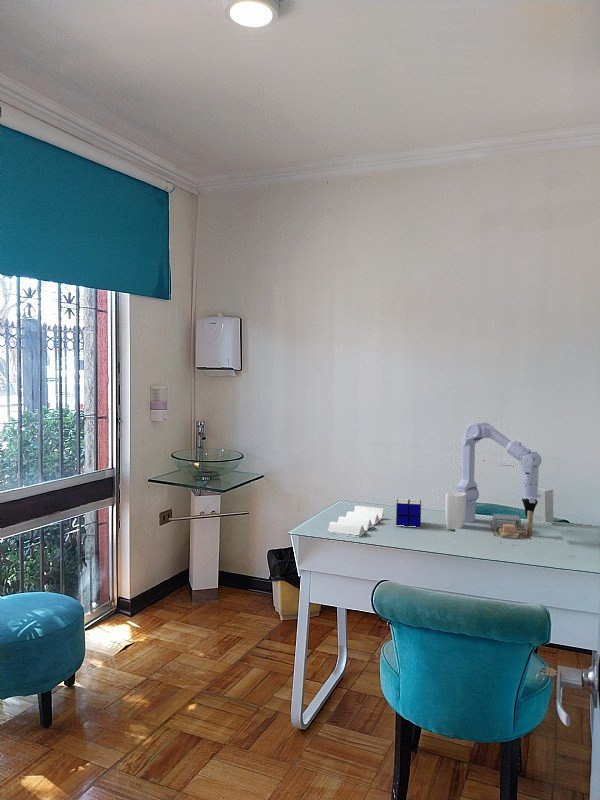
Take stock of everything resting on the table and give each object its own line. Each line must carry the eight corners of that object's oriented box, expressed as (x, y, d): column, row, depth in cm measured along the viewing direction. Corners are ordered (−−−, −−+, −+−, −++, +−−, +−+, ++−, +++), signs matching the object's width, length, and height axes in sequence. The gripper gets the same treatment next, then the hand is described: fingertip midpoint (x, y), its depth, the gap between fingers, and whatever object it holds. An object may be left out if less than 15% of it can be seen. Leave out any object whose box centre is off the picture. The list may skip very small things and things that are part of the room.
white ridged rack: (326, 535, 247) (326, 522, 247) (355, 516, 279) (355, 505, 279) (358, 539, 242) (358, 526, 242) (383, 520, 274) (383, 508, 274)
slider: (500, 536, 240) (501, 513, 240) (498, 531, 247) (499, 508, 247) (534, 539, 237) (535, 515, 237) (531, 534, 245) (532, 510, 244)
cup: (443, 530, 256) (444, 494, 255) (448, 526, 262) (449, 491, 261) (461, 532, 252) (462, 496, 252) (465, 528, 259) (466, 493, 258)
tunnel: (494, 531, 249) (494, 518, 249) (492, 526, 257) (492, 513, 257) (520, 533, 247) (520, 520, 247) (517, 528, 255) (518, 515, 255)
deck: (494, 539, 242) (494, 535, 242) (489, 527, 262) (490, 523, 262) (530, 542, 240) (531, 538, 240) (523, 529, 259) (523, 525, 259)
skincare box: (553, 523, 270) (554, 489, 269) (544, 525, 267) (546, 490, 266) (536, 519, 277) (537, 486, 276) (528, 521, 274) (529, 487, 273)
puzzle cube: (396, 526, 260) (396, 503, 260) (396, 521, 270) (397, 498, 269) (420, 528, 258) (421, 504, 258) (420, 522, 268) (420, 499, 268)
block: (503, 536, 242) (504, 526, 241) (502, 533, 246) (503, 523, 245) (514, 537, 241) (515, 527, 241) (513, 534, 245) (513, 524, 245)
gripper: (544, 487, 237) (542, 522, 238) (538, 480, 252) (536, 514, 252) (524, 486, 239) (523, 521, 240) (519, 479, 253) (518, 513, 254)
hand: (529, 517), depth 246 cm, fingers closed
